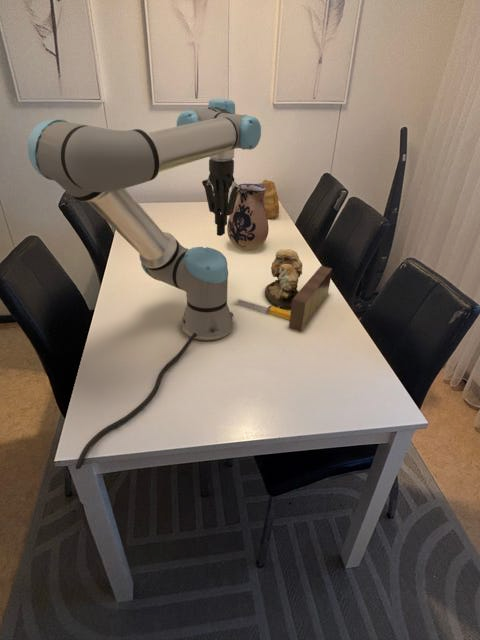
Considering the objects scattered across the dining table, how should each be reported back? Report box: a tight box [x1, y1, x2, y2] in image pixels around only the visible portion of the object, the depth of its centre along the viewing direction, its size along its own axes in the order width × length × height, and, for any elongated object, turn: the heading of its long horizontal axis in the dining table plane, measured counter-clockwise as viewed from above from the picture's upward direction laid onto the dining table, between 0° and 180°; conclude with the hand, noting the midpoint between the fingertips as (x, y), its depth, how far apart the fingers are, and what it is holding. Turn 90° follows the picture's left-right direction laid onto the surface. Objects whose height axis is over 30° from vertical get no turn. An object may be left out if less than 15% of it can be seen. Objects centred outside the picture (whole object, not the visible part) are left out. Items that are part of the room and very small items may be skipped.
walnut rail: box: [288, 265, 333, 332], centre depth 124 cm, size 26×4×10 cm, turn 152°
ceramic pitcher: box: [226, 182, 270, 251], centre depth 163 cm, size 18×21×25 cm
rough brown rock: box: [261, 179, 280, 219], centre depth 202 cm, size 23×17×15 cm
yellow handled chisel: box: [235, 299, 291, 321], centre depth 125 cm, size 20×3×2 cm, turn 62°
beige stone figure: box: [264, 249, 303, 310], centre depth 129 cm, size 18×12×17 cm, turn 12°
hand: (220, 234), depth 129 cm, fingers closed
